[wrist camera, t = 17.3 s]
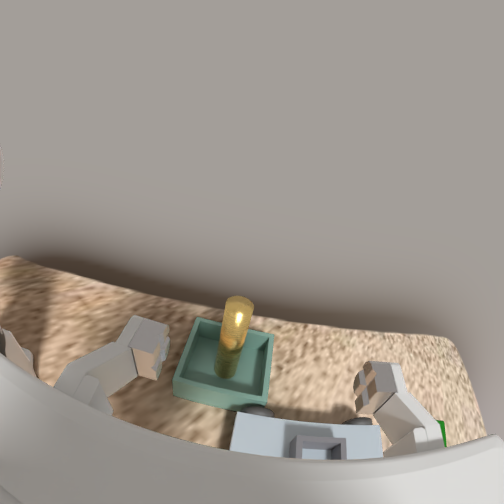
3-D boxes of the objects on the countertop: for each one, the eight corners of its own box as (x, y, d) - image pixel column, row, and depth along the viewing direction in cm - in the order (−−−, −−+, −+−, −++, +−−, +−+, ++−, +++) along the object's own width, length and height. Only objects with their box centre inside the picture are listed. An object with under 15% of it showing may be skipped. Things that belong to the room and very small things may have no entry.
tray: (173, 395, 38) (172, 379, 35) (195, 335, 49) (196, 316, 47) (259, 415, 38) (267, 401, 35) (267, 351, 49) (274, 334, 47)
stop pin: (211, 375, 42) (223, 311, 34) (216, 359, 45) (228, 293, 37) (233, 381, 42) (251, 317, 34) (237, 364, 45) (255, 299, 37)
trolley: (214, 513, 23) (219, 510, 19) (234, 416, 37) (242, 394, 33) (369, 516, 22) (399, 507, 19) (365, 430, 37) (388, 409, 33)
